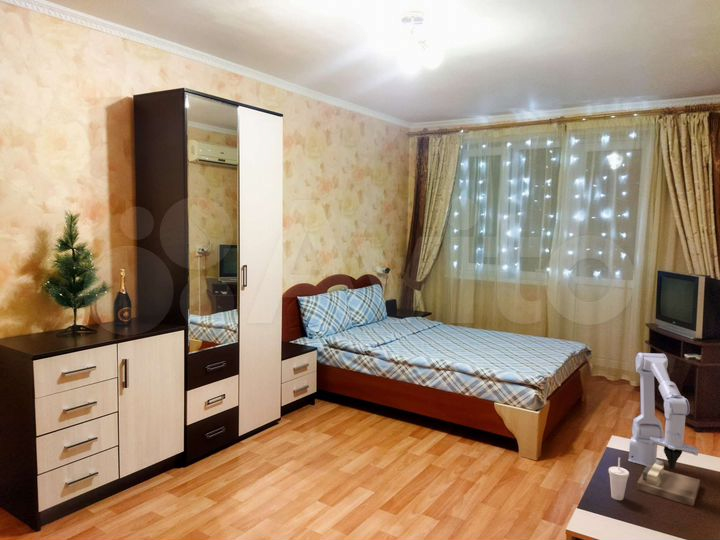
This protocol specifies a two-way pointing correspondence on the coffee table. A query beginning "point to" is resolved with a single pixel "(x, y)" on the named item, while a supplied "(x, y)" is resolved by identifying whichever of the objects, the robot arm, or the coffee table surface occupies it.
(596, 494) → the coffee table surface
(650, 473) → the hinged leg
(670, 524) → the coffee table surface
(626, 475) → the smoothie
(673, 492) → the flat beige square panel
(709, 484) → the coffee table surface
